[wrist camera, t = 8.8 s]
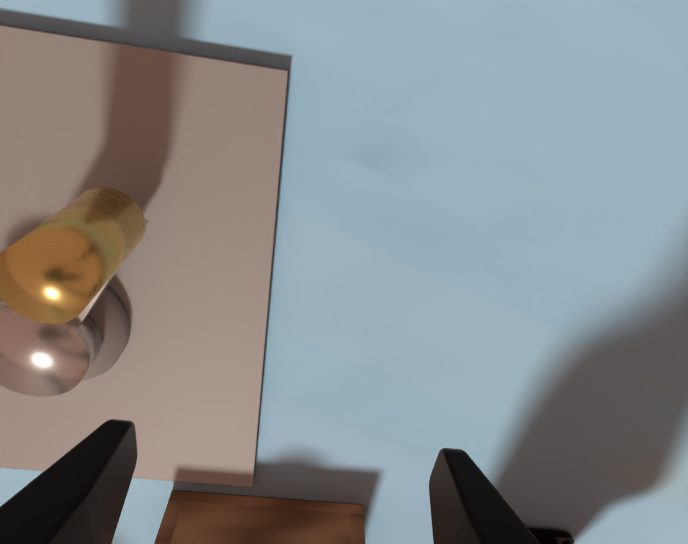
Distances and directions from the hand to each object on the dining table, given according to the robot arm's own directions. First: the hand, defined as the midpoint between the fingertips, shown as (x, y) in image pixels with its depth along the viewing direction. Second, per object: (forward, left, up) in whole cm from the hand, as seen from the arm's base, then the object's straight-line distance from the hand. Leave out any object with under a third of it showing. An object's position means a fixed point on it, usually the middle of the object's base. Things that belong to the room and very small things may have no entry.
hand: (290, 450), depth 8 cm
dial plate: (+9, +6, -12) cm, 16 cm away
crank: (+9, +4, -11) cm, 14 cm away
